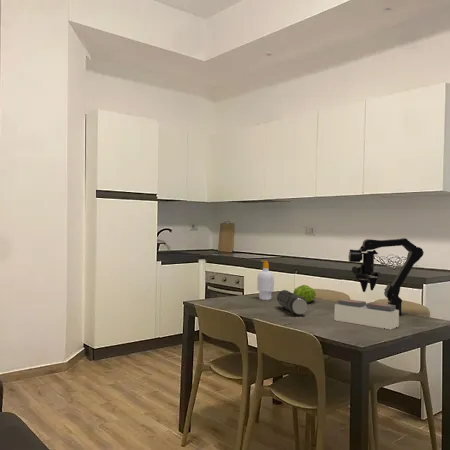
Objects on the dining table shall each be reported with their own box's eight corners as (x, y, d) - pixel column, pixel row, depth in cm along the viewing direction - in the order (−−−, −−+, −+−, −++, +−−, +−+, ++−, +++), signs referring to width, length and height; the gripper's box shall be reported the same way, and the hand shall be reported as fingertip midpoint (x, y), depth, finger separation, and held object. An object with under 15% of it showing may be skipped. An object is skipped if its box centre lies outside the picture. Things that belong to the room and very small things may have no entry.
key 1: (343, 302, 244) (343, 298, 244) (365, 305, 236) (365, 301, 236) (338, 303, 239) (338, 300, 239) (360, 306, 231) (360, 303, 231)
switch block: (343, 317, 245) (343, 302, 245) (398, 326, 226) (398, 309, 226) (334, 320, 239) (334, 304, 239) (390, 329, 219) (390, 312, 219)
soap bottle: (256, 297, 307) (257, 260, 307) (273, 298, 306) (273, 260, 306) (257, 300, 297) (257, 261, 296) (274, 300, 296) (274, 261, 296)
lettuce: (319, 290, 306) (304, 278, 309) (318, 293, 283) (300, 280, 286) (308, 305, 308) (292, 293, 310) (305, 309, 284) (288, 296, 287)
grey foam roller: (292, 307, 275) (292, 289, 275) (308, 317, 247) (309, 297, 247) (276, 307, 273) (276, 289, 273) (291, 317, 245) (291, 297, 245)
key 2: (371, 305, 234) (371, 302, 233) (395, 309, 225) (395, 305, 225) (365, 307, 229) (366, 303, 229) (390, 310, 221) (390, 306, 221)
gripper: (362, 260, 271) (362, 288, 271) (346, 262, 257) (346, 291, 257) (381, 261, 263) (380, 290, 263) (365, 263, 250) (365, 293, 250)
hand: (367, 291), depth 259 cm, fingers open, 9 cm apart
